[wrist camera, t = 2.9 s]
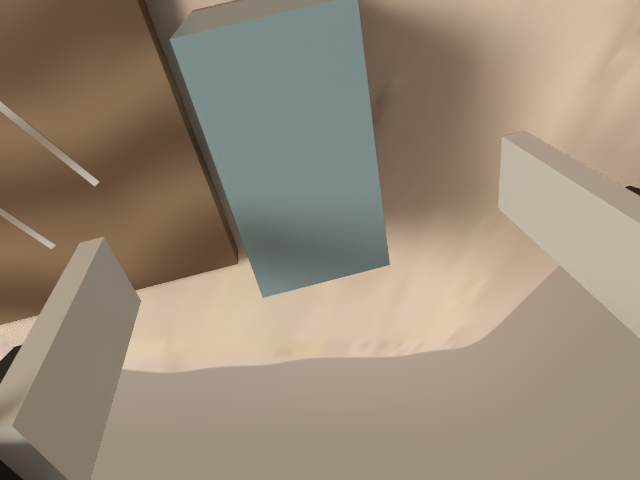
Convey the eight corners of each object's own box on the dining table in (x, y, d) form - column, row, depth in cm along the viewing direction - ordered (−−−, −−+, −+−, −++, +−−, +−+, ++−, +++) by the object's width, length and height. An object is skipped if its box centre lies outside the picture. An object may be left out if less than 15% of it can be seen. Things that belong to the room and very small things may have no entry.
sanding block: (192, 10, 20) (169, 39, 13) (313, -18, 21) (357, -6, 13) (254, 204, 27) (262, 297, 19) (346, 180, 27) (389, 264, 20)
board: (-342, 51, 18) (-385, 58, 17) (123, -55, 19) (115, -56, 17) (-62, 326, 28) (-76, 344, 26) (238, 250, 28) (238, 263, 27)
